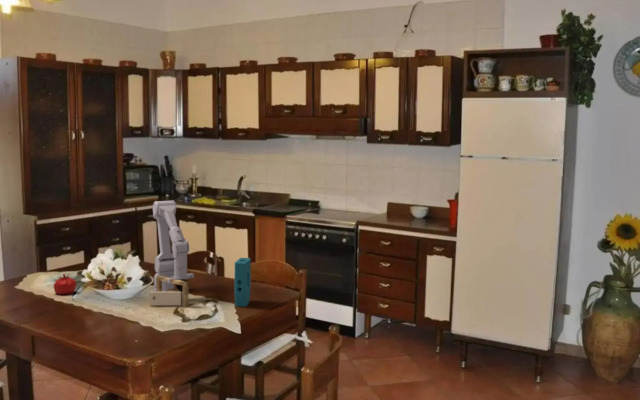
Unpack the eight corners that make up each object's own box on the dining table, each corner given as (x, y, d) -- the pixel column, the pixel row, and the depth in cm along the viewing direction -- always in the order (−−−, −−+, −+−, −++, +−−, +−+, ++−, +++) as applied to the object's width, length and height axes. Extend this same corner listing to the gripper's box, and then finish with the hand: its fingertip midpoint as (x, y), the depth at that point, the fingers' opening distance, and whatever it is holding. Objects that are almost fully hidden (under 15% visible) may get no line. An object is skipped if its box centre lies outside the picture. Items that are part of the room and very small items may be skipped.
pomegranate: (71, 296, 282) (70, 277, 281) (50, 295, 282) (49, 276, 281) (80, 290, 292) (79, 271, 291) (59, 289, 292) (59, 271, 291)
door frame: (156, 299, 279) (156, 276, 278) (159, 298, 281) (159, 275, 279) (185, 307, 268) (185, 282, 267) (188, 306, 270) (188, 282, 269)
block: (245, 307, 269) (245, 263, 267) (234, 307, 270) (234, 263, 268) (250, 300, 281) (251, 258, 279) (240, 299, 282) (240, 257, 280)
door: (149, 306, 268) (149, 292, 267) (150, 304, 270) (150, 291, 269) (183, 306, 269) (183, 292, 268) (184, 304, 271) (184, 291, 270)
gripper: (174, 270, 270) (174, 300, 272) (198, 265, 282) (198, 293, 284) (163, 268, 274) (164, 297, 276) (187, 263, 286) (187, 291, 288)
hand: (180, 295), depth 280 cm, fingers closed, pressing on bread roll
